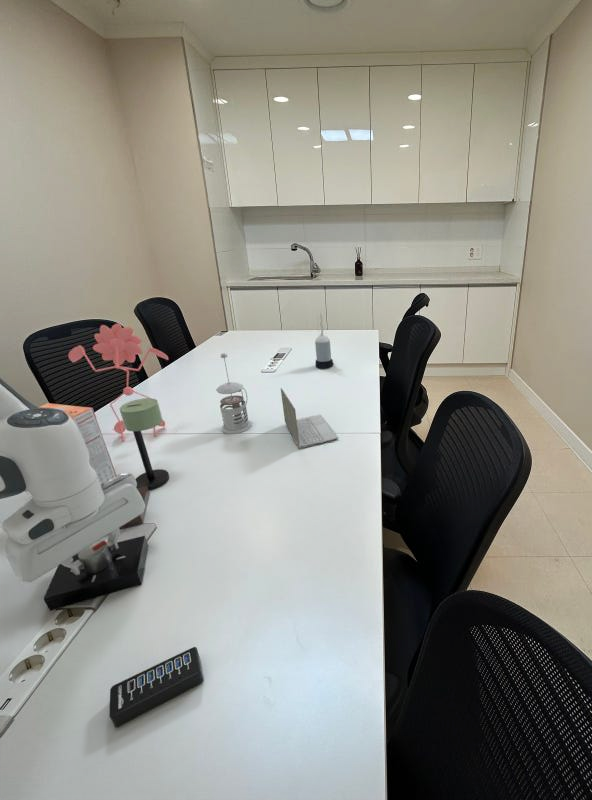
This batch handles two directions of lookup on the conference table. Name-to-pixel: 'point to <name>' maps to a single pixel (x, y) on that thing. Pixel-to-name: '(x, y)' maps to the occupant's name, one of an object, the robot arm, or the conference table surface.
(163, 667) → the multiport hub
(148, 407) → the desk lamp
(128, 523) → the brown green button box
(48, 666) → the conference table surface
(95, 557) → the dimmer knob
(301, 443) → the laptop
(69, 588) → the dimmer panel
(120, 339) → the figurine
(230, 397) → the french press
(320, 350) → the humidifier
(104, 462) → the cracker box
